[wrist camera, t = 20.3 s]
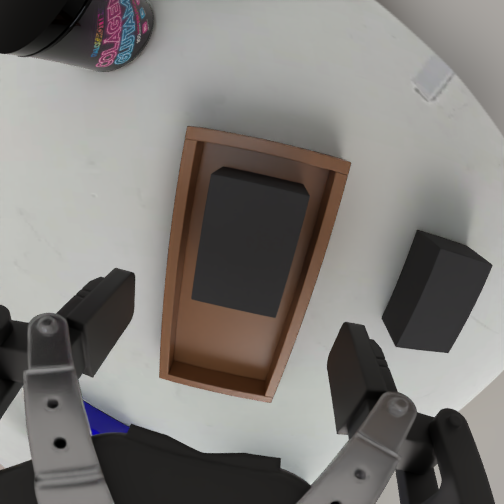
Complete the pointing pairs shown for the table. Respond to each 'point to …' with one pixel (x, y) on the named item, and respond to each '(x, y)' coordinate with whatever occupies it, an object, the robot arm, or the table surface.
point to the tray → (230, 320)
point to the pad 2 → (434, 293)
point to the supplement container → (76, 31)
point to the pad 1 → (248, 240)
